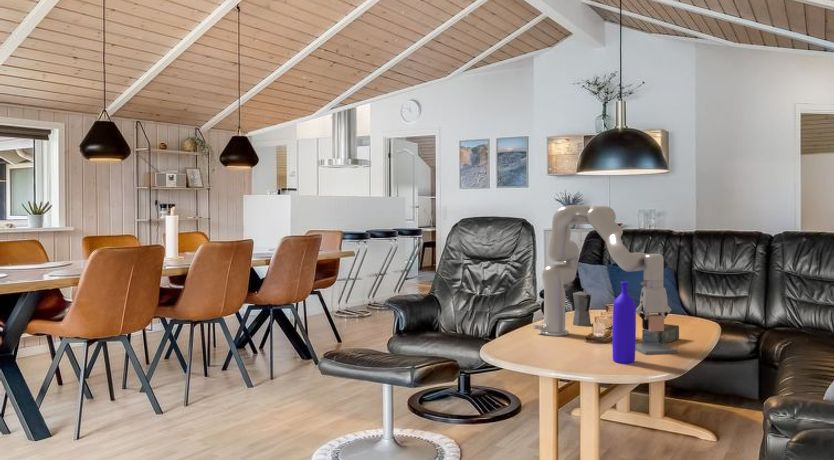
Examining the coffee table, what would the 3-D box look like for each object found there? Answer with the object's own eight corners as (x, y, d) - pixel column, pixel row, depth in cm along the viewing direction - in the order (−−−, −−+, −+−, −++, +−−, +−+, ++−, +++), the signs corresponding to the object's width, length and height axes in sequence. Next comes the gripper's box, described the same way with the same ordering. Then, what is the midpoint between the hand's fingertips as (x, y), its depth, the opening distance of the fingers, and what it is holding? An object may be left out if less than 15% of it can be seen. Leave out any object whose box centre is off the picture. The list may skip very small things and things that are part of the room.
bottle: (608, 359, 254) (609, 280, 253) (629, 358, 255) (631, 280, 254) (617, 364, 246) (618, 283, 245) (638, 363, 247) (640, 283, 246)
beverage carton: (641, 343, 284) (641, 327, 284) (662, 337, 297) (662, 322, 297) (658, 346, 278) (658, 330, 278) (679, 339, 291) (680, 324, 291)
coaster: (645, 354, 262) (645, 351, 262) (627, 346, 276) (627, 343, 276) (677, 352, 265) (677, 349, 265) (658, 345, 278) (658, 342, 278)
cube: (650, 331, 266) (650, 316, 266) (642, 328, 272) (642, 314, 272) (663, 331, 267) (664, 316, 267) (655, 328, 273) (656, 313, 273)
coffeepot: (567, 322, 332) (567, 286, 332) (585, 321, 334) (585, 285, 333) (579, 328, 317) (580, 290, 316) (598, 327, 319) (599, 290, 318)
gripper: (638, 286, 264) (638, 331, 264) (678, 284, 267) (677, 329, 268) (629, 284, 271) (628, 328, 272) (667, 282, 274) (667, 326, 275)
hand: (653, 328), depth 270 cm, fingers closed on cube, 6 cm apart
